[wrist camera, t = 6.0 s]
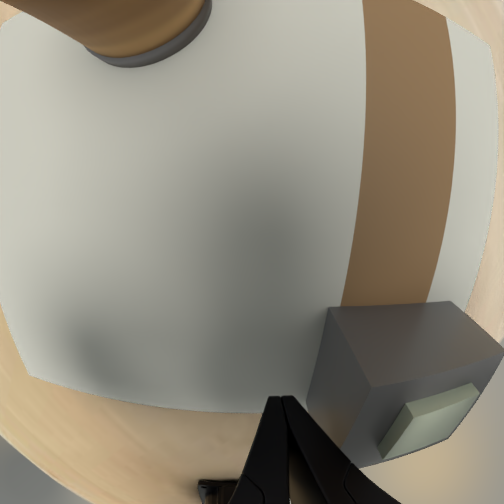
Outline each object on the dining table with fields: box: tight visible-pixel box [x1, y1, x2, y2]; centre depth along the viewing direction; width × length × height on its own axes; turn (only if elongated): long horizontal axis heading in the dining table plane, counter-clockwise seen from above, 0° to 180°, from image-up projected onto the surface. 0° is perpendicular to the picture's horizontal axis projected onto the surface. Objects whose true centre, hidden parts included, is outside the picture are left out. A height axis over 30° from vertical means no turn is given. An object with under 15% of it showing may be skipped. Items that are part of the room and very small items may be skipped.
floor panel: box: [0, 0, 498, 413], centre depth 9 cm, size 18×22×1 cm
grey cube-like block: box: [306, 301, 504, 469], centre depth 8 cm, size 5×6×5 cm
